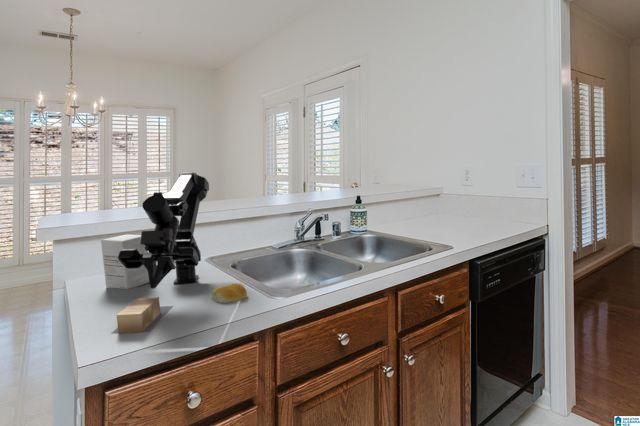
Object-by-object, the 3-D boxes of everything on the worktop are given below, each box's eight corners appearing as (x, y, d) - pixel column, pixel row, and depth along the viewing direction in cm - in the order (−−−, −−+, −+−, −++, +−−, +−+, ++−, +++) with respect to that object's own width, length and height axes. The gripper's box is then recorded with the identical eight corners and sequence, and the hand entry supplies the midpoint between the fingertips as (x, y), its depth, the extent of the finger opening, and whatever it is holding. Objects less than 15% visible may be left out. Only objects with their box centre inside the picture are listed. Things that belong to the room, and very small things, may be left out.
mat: (141, 309, 92) (140, 307, 92) (173, 307, 93) (173, 305, 93) (111, 335, 78) (111, 333, 78) (149, 333, 78) (149, 331, 78)
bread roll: (252, 296, 100) (252, 282, 99) (227, 307, 93) (226, 292, 92) (232, 291, 105) (231, 277, 104) (206, 301, 97) (205, 286, 97)
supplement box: (130, 279, 119) (125, 233, 117) (151, 281, 115) (147, 234, 114) (104, 288, 110) (99, 239, 108) (127, 291, 107) (122, 240, 105)
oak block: (137, 298, 87) (116, 314, 77) (159, 297, 88) (140, 313, 78) (139, 314, 88) (118, 332, 78) (160, 313, 88) (142, 331, 78)
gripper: (116, 218, 92) (97, 274, 83) (192, 215, 93) (181, 271, 84) (134, 242, 101) (118, 294, 92) (202, 239, 102) (194, 291, 93)
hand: (152, 287), depth 90 cm, fingers closed
